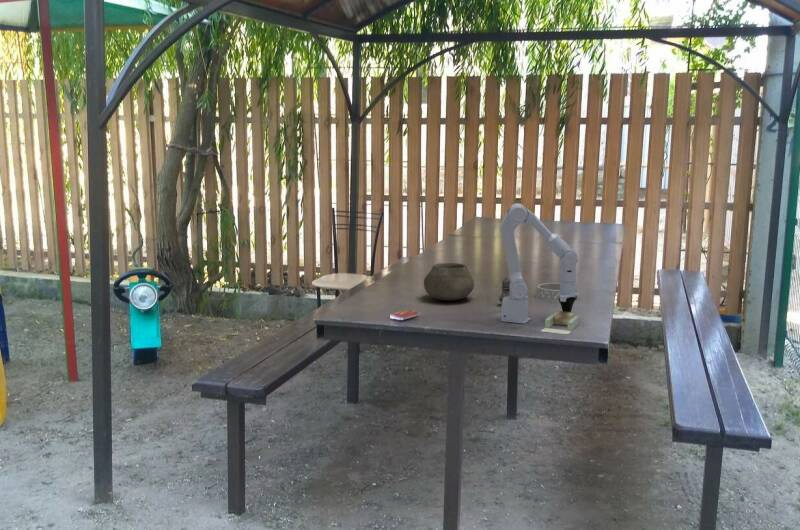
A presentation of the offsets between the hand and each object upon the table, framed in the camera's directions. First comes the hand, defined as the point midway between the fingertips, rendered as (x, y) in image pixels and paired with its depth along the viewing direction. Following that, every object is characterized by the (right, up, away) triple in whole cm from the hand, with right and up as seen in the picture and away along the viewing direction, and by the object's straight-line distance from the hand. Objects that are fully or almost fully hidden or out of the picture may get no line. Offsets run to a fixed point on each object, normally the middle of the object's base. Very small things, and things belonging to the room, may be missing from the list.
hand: (566, 316), depth 292 cm
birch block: (-2, -3, -3) cm, 4 cm away
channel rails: (-3, -3, -6) cm, 7 cm away
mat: (-7, -4, -13) cm, 16 cm away
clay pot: (-42, +4, +37) cm, 56 cm away
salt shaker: (-19, +3, +27) cm, 33 cm away
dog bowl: (+4, +5, +40) cm, 41 cm away
